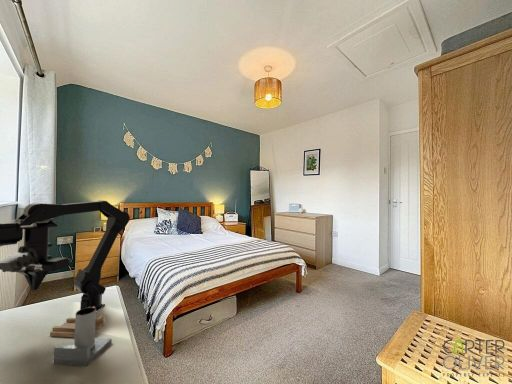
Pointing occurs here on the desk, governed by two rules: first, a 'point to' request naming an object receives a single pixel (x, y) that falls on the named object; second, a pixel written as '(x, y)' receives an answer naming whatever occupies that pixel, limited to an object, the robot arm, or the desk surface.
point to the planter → (85, 327)
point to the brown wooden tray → (72, 327)
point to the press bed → (79, 353)
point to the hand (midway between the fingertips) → (34, 290)
